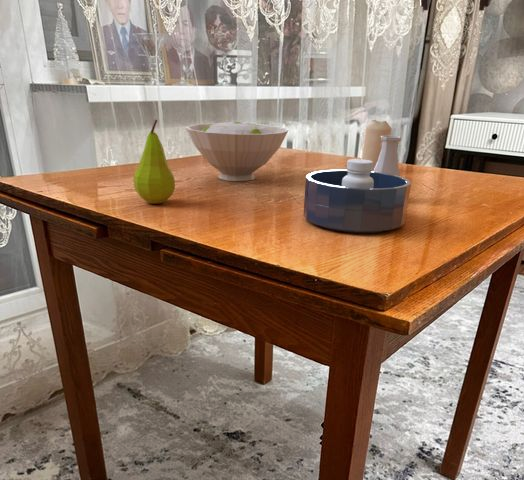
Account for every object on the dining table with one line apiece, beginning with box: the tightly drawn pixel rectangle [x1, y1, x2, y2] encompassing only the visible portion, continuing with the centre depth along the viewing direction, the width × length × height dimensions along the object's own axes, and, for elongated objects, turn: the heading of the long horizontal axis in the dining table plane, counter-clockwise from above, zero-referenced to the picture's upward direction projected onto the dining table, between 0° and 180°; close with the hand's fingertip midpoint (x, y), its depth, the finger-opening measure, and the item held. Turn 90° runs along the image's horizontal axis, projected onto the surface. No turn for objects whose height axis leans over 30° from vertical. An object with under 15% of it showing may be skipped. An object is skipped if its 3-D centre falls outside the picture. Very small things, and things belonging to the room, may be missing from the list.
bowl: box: [185, 121, 289, 182], centre depth 103 cm, size 19×19×10 cm
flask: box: [373, 134, 402, 177], centre depth 89 cm, size 7×7×10 cm
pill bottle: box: [342, 158, 374, 188], centre depth 75 cm, size 4×4×8 cm
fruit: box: [132, 119, 176, 205], centre depth 81 cm, size 6×6×12 cm
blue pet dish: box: [302, 169, 412, 234], centre depth 76 cm, size 14×14×6 cm
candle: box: [361, 119, 392, 172], centre depth 115 cm, size 6×6×10 cm
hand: (453, 5), depth 84 cm, fingers open, 8 cm apart
